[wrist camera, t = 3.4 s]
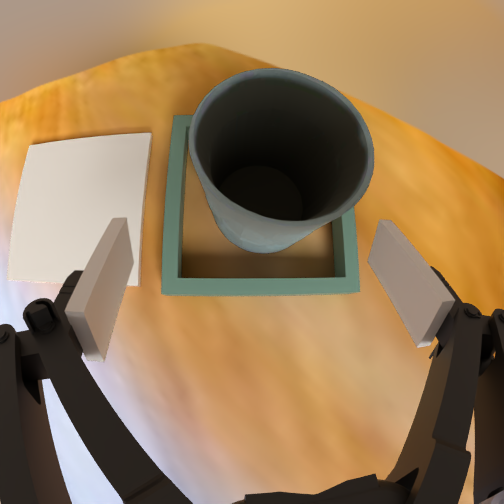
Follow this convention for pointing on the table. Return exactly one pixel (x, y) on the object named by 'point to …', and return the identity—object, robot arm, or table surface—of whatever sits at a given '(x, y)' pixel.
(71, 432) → the table surface
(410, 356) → the table surface
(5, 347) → the robot arm
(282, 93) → the grey-green cup
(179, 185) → the square holder
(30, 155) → the ceramic tile
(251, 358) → the table surface
